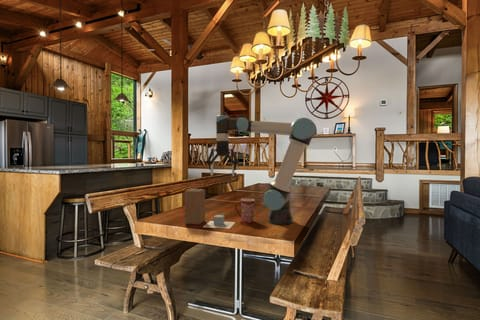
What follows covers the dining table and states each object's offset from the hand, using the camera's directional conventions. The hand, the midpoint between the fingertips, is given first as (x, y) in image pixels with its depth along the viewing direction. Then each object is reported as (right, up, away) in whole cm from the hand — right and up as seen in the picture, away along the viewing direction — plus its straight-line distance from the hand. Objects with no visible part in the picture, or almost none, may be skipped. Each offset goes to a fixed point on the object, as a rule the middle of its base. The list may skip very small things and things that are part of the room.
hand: (222, 175), depth 170 cm
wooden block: (-17, -29, -1) cm, 33 cm away
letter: (-1, -29, -6) cm, 30 cm away
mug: (+14, -29, +3) cm, 32 cm away
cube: (-2, -29, -6) cm, 29 cm away
